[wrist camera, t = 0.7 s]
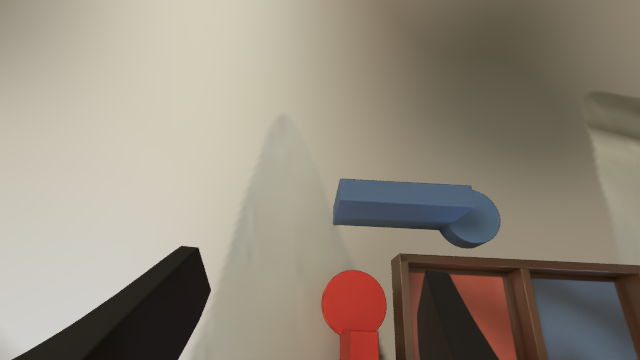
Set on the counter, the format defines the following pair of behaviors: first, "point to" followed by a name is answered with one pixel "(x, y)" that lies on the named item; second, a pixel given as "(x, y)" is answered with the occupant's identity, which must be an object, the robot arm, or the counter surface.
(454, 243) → the blue spoon
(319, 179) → the counter surface
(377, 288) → the red spoon
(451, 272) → the sorting tray
